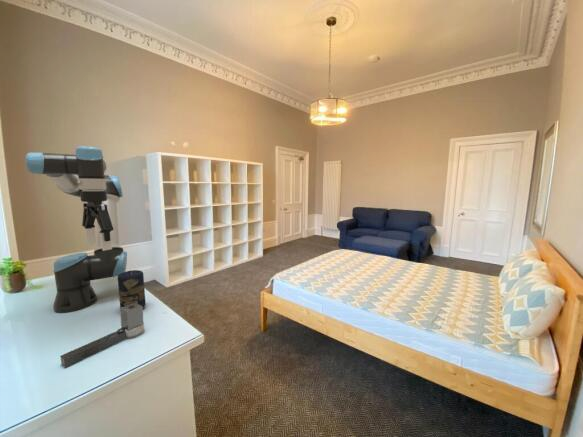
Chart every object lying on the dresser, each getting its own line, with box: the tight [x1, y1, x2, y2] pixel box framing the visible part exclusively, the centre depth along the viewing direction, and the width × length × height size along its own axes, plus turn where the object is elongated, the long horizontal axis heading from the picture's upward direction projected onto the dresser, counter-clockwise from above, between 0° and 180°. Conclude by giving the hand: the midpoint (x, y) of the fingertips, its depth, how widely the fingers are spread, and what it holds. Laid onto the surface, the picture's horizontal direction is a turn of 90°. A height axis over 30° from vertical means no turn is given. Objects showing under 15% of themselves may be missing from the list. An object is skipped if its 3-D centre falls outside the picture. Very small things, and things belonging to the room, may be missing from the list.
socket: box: [119, 303, 144, 330], centre depth 91 cm, size 5×5×7 cm
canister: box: [117, 269, 146, 309], centre depth 108 cm, size 10×10×18 cm
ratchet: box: [60, 321, 145, 369], centre depth 84 cm, size 7×24×7 cm, turn 148°
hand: (99, 247), depth 92 cm, fingers open, 13 cm apart
